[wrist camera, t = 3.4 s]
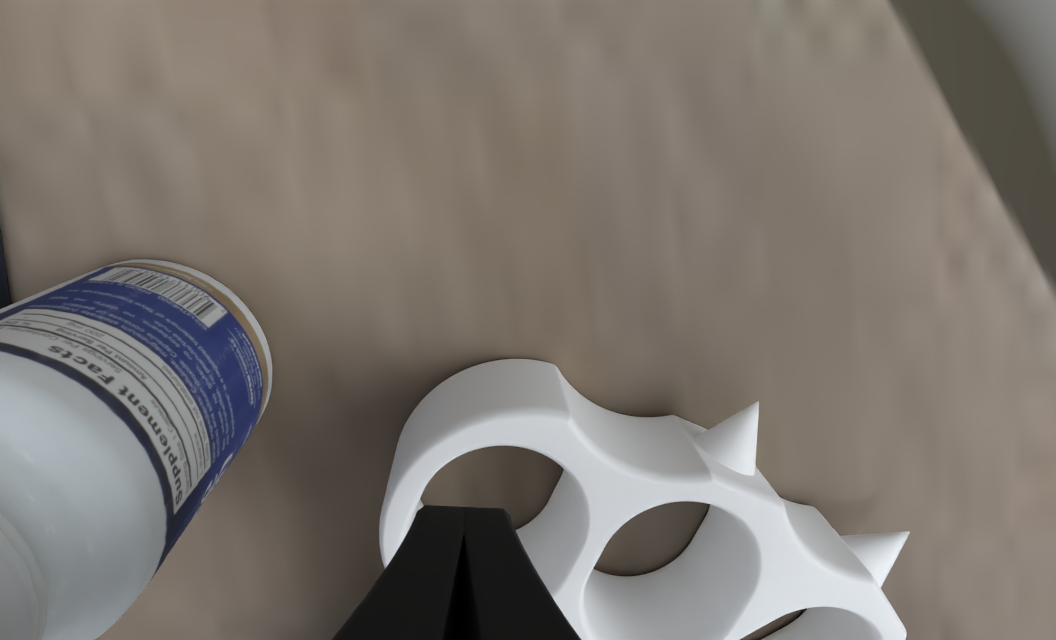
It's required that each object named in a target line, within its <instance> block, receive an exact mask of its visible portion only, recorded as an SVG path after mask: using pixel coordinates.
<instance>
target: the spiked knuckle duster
mask: <svg viewBox="0 0 1056 640" xmlns="http://www.w3.org/2000/svg"><path fill="white" fill-rule="evenodd" d="M758 413H759V401H757V402H756V403H754V404H752V405H750V406H749V407H747V408H745V409H743V410H742V411H740V412H738V413H736V414H735V415H733V416H731V417H729V418H728V419H726V420H724V421H722V422H721V423H719V424H717V425H715V426H714V427H712V428H710V429H705V428H703V427H701V426H698V425H696V424H694V423H691V422H689V421H687V420H684V419H682V418H680V417H677V416H675V415H669V416H662V417H634V416H628V415H623V414H619V413H615V412H612V411H609V410H607V409H604V408H602V407H600V406H598V405H596V404H594V403H592V402H591V401H589V400H588V399H586V398H585V397H583V396H582V395H581V394H579V393H578V392H577V391H576V390H575V389H574V388H573V387H572V386H571V385H570V384H569V383H568V382H567V381H566V379H565V378H564V377H563V375H562V374H561V373H560V371H559V370H558V368H557V366H556V365H554V364H551V363H548V362H543V361H538V360H530V359H504V360H496V361H491V362H486V363H482V364H479V365H476V366H473V367H470V368H468V369H465V370H463V371H461V372H459V373H457V374H455V375H453V376H451V377H450V378H448V379H446V380H445V381H443V382H442V383H440V384H439V385H438V386H437V387H435V388H434V389H433V390H432V391H431V392H430V393H428V394H427V395H426V396H425V397H424V398H423V400H422V401H421V402H420V403H419V404H418V405H417V407H416V408H415V409H414V411H413V412H412V414H411V415H410V417H409V418H408V420H407V422H406V424H405V426H404V428H403V430H402V432H401V435H400V438H399V441H398V444H397V448H396V452H395V456H394V460H393V464H392V468H391V472H390V477H389V481H388V485H387V489H386V493H385V497H384V501H383V505H382V510H381V516H380V524H379V543H380V551H381V557H382V561H383V565H384V568H386V567H387V565H388V564H389V563H390V561H391V560H392V558H393V556H394V555H395V553H396V552H397V550H398V548H399V547H400V545H401V543H402V542H403V540H404V538H405V536H406V534H407V533H408V531H409V529H410V527H411V525H412V522H413V520H414V518H415V515H416V513H417V511H418V510H419V509H421V508H422V507H423V506H424V505H423V503H422V501H421V499H420V497H421V495H422V493H423V491H424V489H425V487H426V485H427V484H428V482H429V481H430V479H431V478H432V477H433V476H434V474H435V473H436V472H437V471H438V470H439V469H440V468H442V467H443V466H444V465H445V464H447V463H448V462H450V461H451V460H453V459H454V458H456V457H458V456H460V455H462V454H464V453H467V452H469V451H472V450H475V449H479V448H483V447H489V446H502V445H504V446H517V447H523V448H527V449H531V450H534V451H536V452H539V453H541V454H543V455H545V456H547V457H549V458H551V459H552V460H554V461H555V462H557V463H558V464H559V465H560V466H561V467H562V468H564V470H563V473H562V475H561V477H560V479H559V481H558V483H557V485H556V487H555V489H554V491H553V493H552V495H551V497H550V499H549V501H548V503H547V504H546V506H545V507H544V509H543V510H542V511H541V512H540V514H539V515H538V516H537V517H535V518H534V519H533V520H532V521H531V522H529V523H528V524H526V525H525V526H523V527H521V528H519V529H517V530H516V532H517V534H518V537H519V539H520V541H521V543H522V545H523V547H524V549H525V551H526V553H527V554H528V556H529V558H530V560H531V562H532V564H533V566H534V567H535V569H536V571H537V573H538V574H539V576H540V578H541V579H542V581H543V583H544V584H545V586H546V588H547V589H548V591H549V592H550V594H551V596H552V597H553V599H554V601H555V602H556V604H557V605H558V607H559V608H560V610H561V611H562V613H563V614H564V616H565V617H566V619H567V620H568V622H569V623H570V624H571V626H572V627H573V629H574V630H575V631H576V633H577V634H578V636H579V637H580V638H581V640H740V639H741V638H743V637H745V636H746V635H748V634H750V633H752V632H753V631H755V630H757V629H759V628H761V627H763V626H764V625H766V624H768V623H770V622H772V621H774V620H775V619H777V618H779V617H781V616H784V615H786V614H788V613H791V612H794V611H797V610H801V609H806V608H807V610H806V611H805V612H804V613H803V614H802V615H801V616H800V617H798V618H797V619H796V620H795V621H793V622H792V623H790V624H789V625H787V626H785V627H784V628H782V629H780V630H778V631H776V632H774V633H772V634H771V635H769V636H767V637H765V638H763V639H761V640H905V638H906V630H905V627H904V626H903V624H902V622H901V621H900V619H899V618H898V616H897V614H896V613H895V611H894V609H893V608H892V606H891V605H890V603H889V601H888V600H887V598H886V596H885V595H884V593H883V591H882V590H881V586H882V584H883V582H884V580H885V579H886V577H887V575H888V573H889V571H890V569H891V567H892V565H893V563H894V562H895V560H896V558H897V556H898V554H899V552H900V550H901V548H902V547H903V545H904V543H905V541H906V539H907V537H908V535H909V533H910V531H909V532H892V533H876V534H859V535H843V536H839V535H838V534H837V532H836V531H835V530H834V529H833V528H832V526H831V525H830V524H829V523H828V522H827V521H826V519H825V518H824V517H823V516H822V515H821V513H820V512H819V511H818V510H817V509H816V508H815V507H813V506H809V505H802V504H797V503H794V502H790V501H787V500H785V499H782V498H780V497H779V496H778V494H777V493H776V492H775V491H774V489H773V488H772V487H771V485H770V484H769V483H768V482H767V480H766V479H765V478H764V476H763V475H762V474H761V473H760V471H759V470H758V469H757V467H756V466H755V460H756V444H757V429H758ZM679 501H694V502H702V503H707V504H710V507H709V510H708V512H707V515H706V517H705V518H704V520H703V522H702V524H701V525H700V527H699V529H698V531H697V532H696V534H695V536H694V537H693V539H692V541H691V542H690V544H689V545H688V547H687V548H686V549H685V550H684V552H683V553H682V554H681V555H680V556H679V557H677V558H676V559H675V560H674V561H672V562H671V563H669V564H668V565H666V566H664V567H663V568H661V569H658V570H656V571H654V572H651V573H647V574H644V575H638V576H626V577H625V576H614V575H609V574H605V573H602V572H600V571H597V570H595V569H593V568H594V566H595V564H596V562H597V560H598V558H599V557H600V555H601V553H602V551H603V549H604V547H605V546H606V544H607V542H608V541H609V539H610V538H611V537H612V536H613V534H614V533H615V532H616V531H617V530H618V529H619V528H620V527H621V526H622V525H623V524H624V523H626V522H627V521H628V520H630V519H631V518H633V517H634V516H636V515H637V514H639V513H641V512H643V511H645V510H647V509H650V508H652V507H655V506H658V505H662V504H666V503H671V502H679Z"/></svg>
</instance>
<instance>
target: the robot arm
mask: <svg viewBox="0 0 1056 640" xmlns="http://www.w3.org/2000/svg"><path fill="white" fill-rule="evenodd" d="M332 640H581V638H580V637H579V636H578V634H577V633H576V631H575V630H574V629H573V627H572V626H571V624H570V623H569V622H568V620H567V619H566V617H565V616H564V614H563V613H562V611H561V610H560V608H559V607H558V605H557V604H556V602H555V601H554V599H553V597H552V596H551V594H550V592H549V591H548V589H547V588H546V586H545V584H544V583H543V581H542V579H541V578H540V576H539V574H538V573H537V571H536V569H535V567H534V566H533V564H532V562H531V560H530V558H529V556H528V554H527V553H526V551H525V549H524V547H523V545H522V543H521V541H520V539H519V537H518V534H517V532H516V530H515V528H514V525H513V523H512V520H511V517H510V515H509V514H508V513H507V512H506V511H505V510H504V509H499V508H476V507H454V506H431V505H424V506H423V507H422V508H421V509H419V510H418V511H417V513H416V515H415V518H414V520H413V522H412V525H411V527H410V529H409V531H408V533H407V534H406V536H405V538H404V540H403V542H402V543H401V545H400V547H399V548H398V550H397V552H396V553H395V555H394V556H393V558H392V560H391V561H390V563H389V564H388V565H387V567H386V568H385V570H384V571H383V573H382V574H381V576H380V577H379V579H378V580H377V582H376V583H375V585H374V586H373V588H372V589H371V590H370V592H369V593H368V594H367V596H366V597H365V598H364V600H363V601H362V602H361V603H360V605H359V606H358V607H357V609H356V610H355V611H354V612H353V614H352V615H351V616H350V617H349V619H348V620H347V621H346V623H345V624H344V625H343V626H342V628H341V629H340V630H339V631H338V633H337V634H336V635H335V636H334V637H333V638H332Z"/></svg>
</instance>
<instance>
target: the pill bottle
mask: <svg viewBox="0 0 1056 640" xmlns="http://www.w3.org/2000/svg"><path fill="white" fill-rule="evenodd" d="M271 388H272V360H271V354H270V350H269V347H268V343H267V340H266V338H265V336H264V333H263V331H262V329H261V327H260V325H259V323H258V322H257V320H256V319H255V317H254V316H253V314H252V313H251V312H250V310H249V309H248V308H247V307H246V306H245V304H244V303H243V302H242V301H241V300H240V299H239V298H238V297H237V296H236V295H235V294H234V293H233V292H232V291H231V290H229V289H228V288H227V287H225V286H224V285H223V284H221V283H220V282H218V281H216V280H215V279H213V278H212V277H210V276H208V275H206V274H204V273H202V272H200V271H197V270H195V269H192V268H190V267H187V266H183V265H180V264H177V263H172V262H167V261H162V260H148V259H137V260H128V261H123V262H118V263H114V264H111V265H107V266H104V267H102V268H99V269H96V270H94V271H91V272H89V273H86V274H84V275H81V276H78V277H76V278H74V279H72V280H69V281H66V282H64V283H61V284H59V285H56V286H54V287H52V288H49V289H47V290H45V291H42V292H40V293H37V294H35V295H32V296H30V297H28V298H25V299H23V300H21V301H18V302H16V303H14V304H11V305H9V306H7V307H4V308H2V309H0V640H95V639H96V638H98V637H99V636H100V635H102V634H103V633H104V632H105V631H107V630H108V629H109V628H110V627H111V626H112V625H113V624H114V623H116V622H117V621H118V620H119V619H120V618H121V617H122V616H123V614H124V613H125V612H126V611H127V610H128V608H129V607H130V606H131V605H132V604H133V602H134V601H135V600H136V599H137V598H138V597H139V595H140V594H141V593H142V592H143V590H144V589H145V588H146V586H147V585H148V583H149V582H150V581H151V579H152V578H153V576H154V575H155V573H156V572H157V570H158V569H159V567H160V566H161V564H162V563H163V561H164V559H165V557H166V556H167V554H168V553H169V551H170V550H171V549H172V547H173V546H174V544H175V543H176V541H177V540H178V538H179V537H180V535H181V534H182V532H183V531H184V530H185V528H186V527H187V525H188V524H189V522H190V521H191V520H192V518H193V517H194V516H195V514H196V513H197V512H198V511H199V509H200V507H201V505H202V504H203V502H204V501H205V499H206V498H207V496H208V495H209V493H210V492H211V491H212V489H213V488H214V486H215V485H216V483H217V482H218V481H219V479H220V478H221V477H222V475H223V473H224V472H225V470H226V469H227V467H228V466H229V465H230V463H231V462H232V460H233V459H234V458H235V456H236V455H237V453H238V452H239V450H240V449H241V448H242V446H243V445H244V443H245V442H246V440H247V439H248V437H249V436H250V435H251V433H252V431H253V430H254V428H255V426H256V425H257V423H258V422H259V420H260V418H261V416H262V414H263V412H264V411H265V408H266V405H267V403H268V400H269V396H270V392H271Z"/></svg>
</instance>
